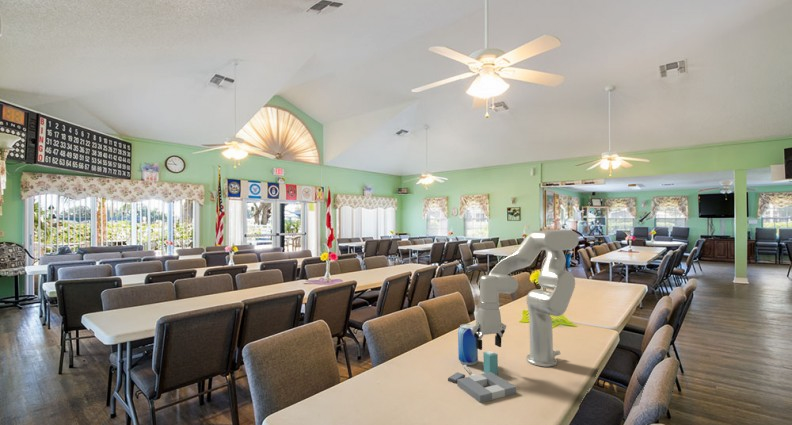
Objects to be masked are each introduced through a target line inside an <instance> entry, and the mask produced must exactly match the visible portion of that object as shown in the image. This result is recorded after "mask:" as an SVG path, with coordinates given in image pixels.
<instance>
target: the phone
mask: <svg viewBox="0 0 792 425" xmlns="http://www.w3.org/2000/svg"><path fill="white" fill-rule="evenodd" d="M461 378H466V374H464V373H461V372H455V373H454V374H452V375H450V376H449V377H448V378H447V381H448V382H450V383H454V384H457V379H461Z"/></svg>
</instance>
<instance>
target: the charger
mask: <svg viewBox="0 0 792 425" xmlns="http://www.w3.org/2000/svg"><path fill="white" fill-rule="evenodd" d="M498 366H499V361H498V353H496V352H494V351H492V350H488V351H484V352H483V373H488V372H492V373H494V374H496V375H498V374H499V373H498V372H499V370H498V369H499V367H498Z"/></svg>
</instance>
